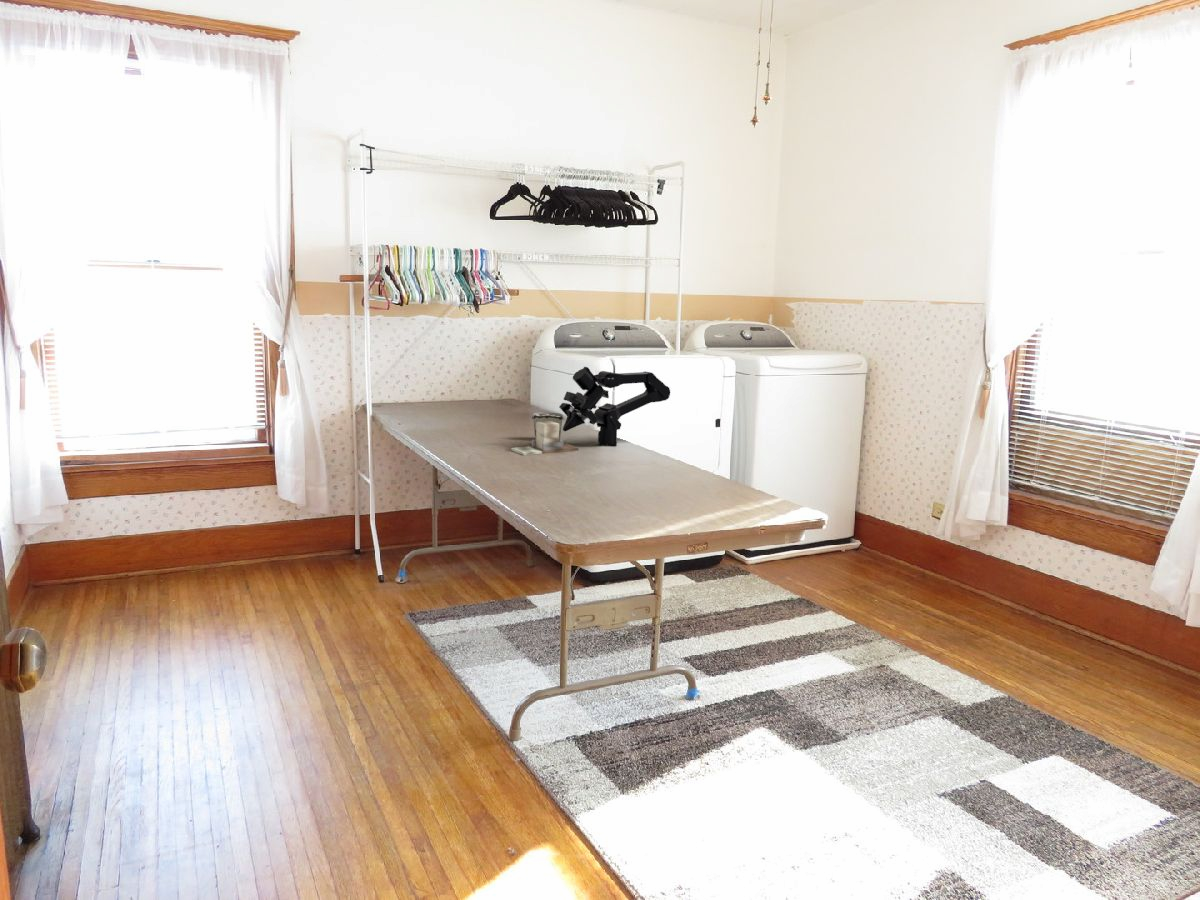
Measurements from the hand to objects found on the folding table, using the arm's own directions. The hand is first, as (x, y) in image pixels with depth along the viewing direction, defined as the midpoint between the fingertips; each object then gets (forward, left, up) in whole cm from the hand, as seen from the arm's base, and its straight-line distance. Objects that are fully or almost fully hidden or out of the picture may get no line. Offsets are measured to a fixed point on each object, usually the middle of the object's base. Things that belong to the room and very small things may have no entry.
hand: (563, 430), depth 313 cm
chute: (+6, +4, -7) cm, 10 cm away
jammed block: (+5, +4, -6) cm, 9 cm away
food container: (+7, -18, -7) cm, 21 cm away
